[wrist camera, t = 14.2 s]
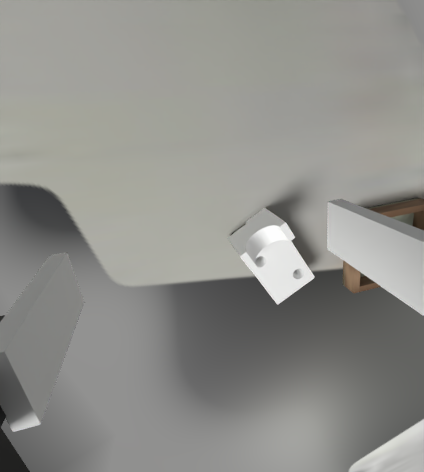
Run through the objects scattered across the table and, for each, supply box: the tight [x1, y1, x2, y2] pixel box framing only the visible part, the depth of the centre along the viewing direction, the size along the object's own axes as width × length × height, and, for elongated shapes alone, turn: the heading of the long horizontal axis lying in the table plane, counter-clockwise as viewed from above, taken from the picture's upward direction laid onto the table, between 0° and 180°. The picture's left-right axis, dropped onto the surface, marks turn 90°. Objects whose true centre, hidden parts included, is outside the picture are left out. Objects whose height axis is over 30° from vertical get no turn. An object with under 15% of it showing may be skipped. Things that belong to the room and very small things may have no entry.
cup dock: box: [343, 198, 424, 293], centre depth 49 cm, size 13×13×3 cm
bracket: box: [227, 208, 315, 304], centre depth 44 cm, size 13×7×8 cm, turn 36°
